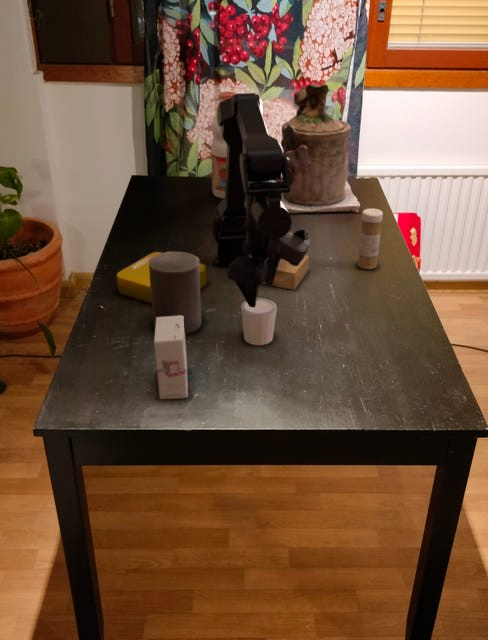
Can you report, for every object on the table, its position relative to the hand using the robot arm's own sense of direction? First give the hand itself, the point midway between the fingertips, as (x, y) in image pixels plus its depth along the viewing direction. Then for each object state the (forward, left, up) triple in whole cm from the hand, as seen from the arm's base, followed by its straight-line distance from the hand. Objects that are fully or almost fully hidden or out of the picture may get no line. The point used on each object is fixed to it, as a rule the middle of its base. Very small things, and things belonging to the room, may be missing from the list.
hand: (261, 296), depth 134 cm
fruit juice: (-37, +72, -9) cm, 81 cm away
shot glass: (0, 0, -9) cm, 9 cm away
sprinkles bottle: (+12, +40, -9) cm, 42 cm away
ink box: (-8, -21, -9) cm, 25 cm away
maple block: (-5, +27, -9) cm, 29 cm away
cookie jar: (-14, +77, -9) cm, 79 cm away
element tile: (-27, +12, -9) cm, 31 cm away
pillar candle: (-17, -1, -9) cm, 20 cm away
